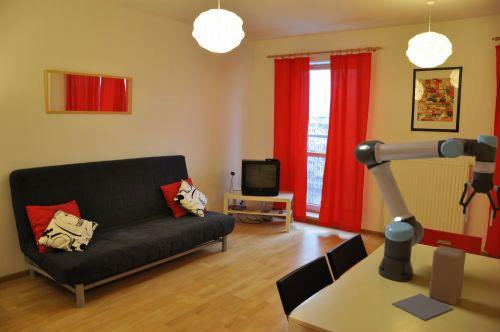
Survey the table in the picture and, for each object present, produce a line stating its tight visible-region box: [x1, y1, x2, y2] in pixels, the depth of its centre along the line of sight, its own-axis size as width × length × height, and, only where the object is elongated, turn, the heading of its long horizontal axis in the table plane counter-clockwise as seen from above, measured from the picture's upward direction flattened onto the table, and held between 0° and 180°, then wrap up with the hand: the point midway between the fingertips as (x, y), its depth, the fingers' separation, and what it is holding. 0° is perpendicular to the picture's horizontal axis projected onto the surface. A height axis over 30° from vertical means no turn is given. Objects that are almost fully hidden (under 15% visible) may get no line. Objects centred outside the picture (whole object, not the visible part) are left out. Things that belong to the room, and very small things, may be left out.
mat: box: [391, 293, 454, 322], centre depth 154 cm, size 18×14×1 cm
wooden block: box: [428, 245, 467, 306], centre depth 161 cm, size 10×10×20 cm
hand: (478, 223), depth 174 cm, fingers open, 9 cm apart
